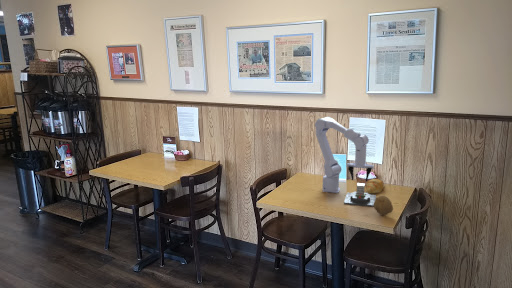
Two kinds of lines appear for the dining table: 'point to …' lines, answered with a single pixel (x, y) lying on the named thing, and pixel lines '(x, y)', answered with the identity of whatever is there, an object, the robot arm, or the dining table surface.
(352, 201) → the stand base
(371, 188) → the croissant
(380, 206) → the natural sponge
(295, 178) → the dining table surface
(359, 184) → the column
